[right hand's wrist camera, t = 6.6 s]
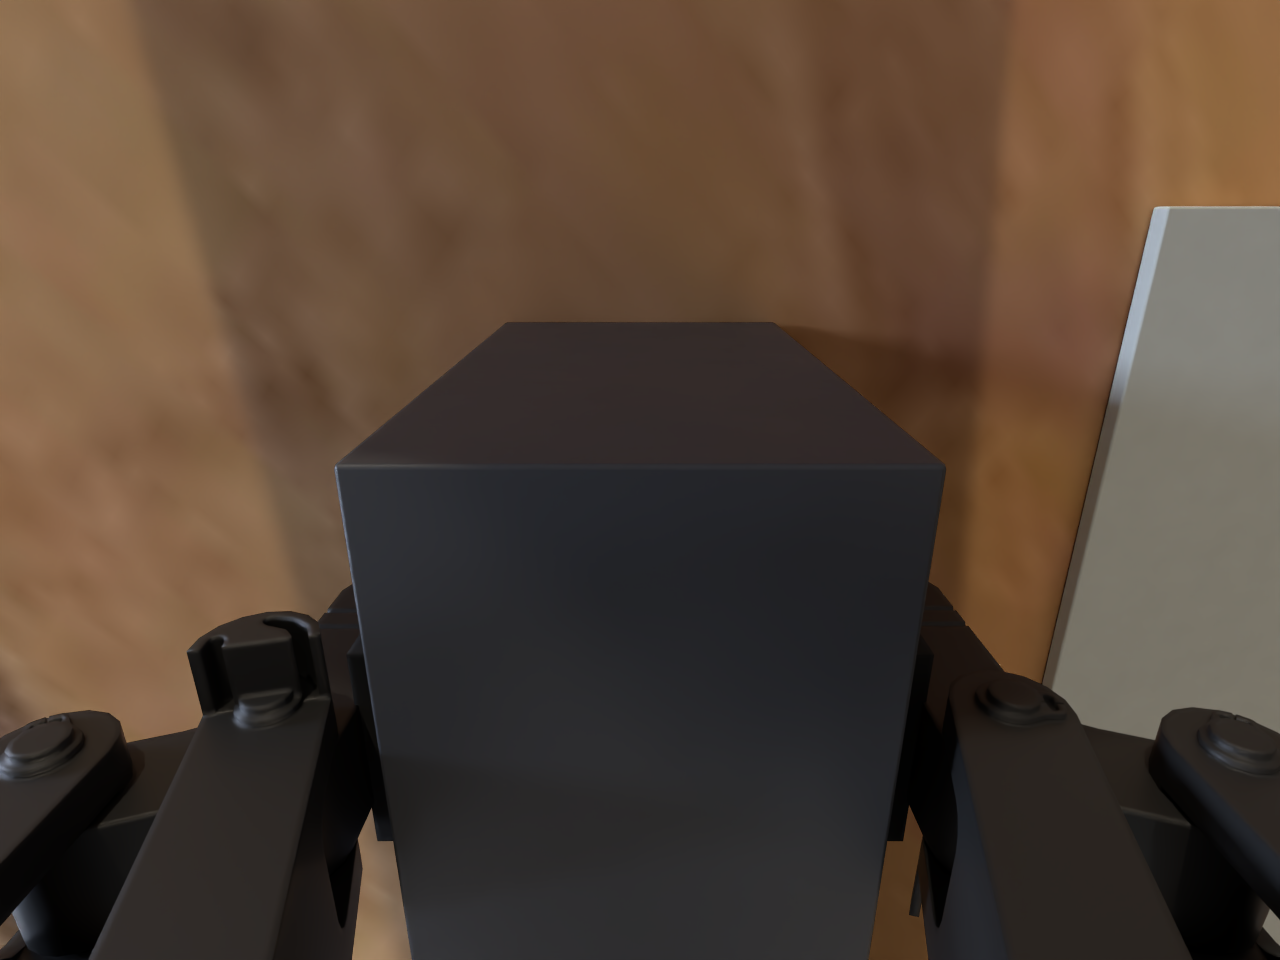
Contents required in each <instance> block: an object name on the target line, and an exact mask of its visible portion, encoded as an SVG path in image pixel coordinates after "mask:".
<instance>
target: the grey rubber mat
mask: <svg viewBox="0 0 1280 960" xmlns="http://www.w3.org/2000/svg"><path fill="white" fill-rule="evenodd" d="M1042 685H1044V686H1047V687H1048V688H1049V689H1051V690H1052V691H1054V692H1055V693H1057V694H1058V695H1059V696H1061V697H1062V698H1064V699H1065V700H1066V701H1067V702H1068V704H1069V705H1070V706H1071V708H1072V709H1073V710H1074V711H1075V713H1076V714H1077V716H1078V718H1079V720H1080V722H1081V724H1083V725H1087V726H1091V727H1094V728H1098V729H1103V730H1108V731H1113V732H1118V733H1123V734H1128V735H1133V736H1138V737H1143V738H1148V739H1152V740H1155V738H1156V735H1157V732H1158V728H1159V725H1160V722H1161V719H1162V717H1164V716H1165V715H1166V714H1168V713H1169V712H1170V711H1172V710H1174V709H1182V708H1189V707H1196V708H1205V709H1213V710H1221V711H1226V712H1230V713H1232V714H1233V715H1236V714H1237V715H1240V716H1243V717H1246V718H1249V719H1252V720H1254V721H1255V722H1256V723H1258V724H1260V725H1263V726H1265V727H1267V728H1269V729H1271V730H1274V731H1276V732H1278V733H1279V734H1280V206H1158V207H1155V208H1154V210H1153V214H1152V218H1151V223H1150V227H1149V231H1148V235H1147V240H1146V244H1145V248H1144V252H1143V257H1142V261H1141V265H1140V270H1139V274H1138V278H1137V282H1136V287H1135V291H1134V295H1133V299H1132V304H1131V308H1130V312H1129V316H1128V321H1127V325H1126V329H1125V333H1124V338H1123V342H1122V346H1121V350H1120V355H1119V359H1118V363H1117V368H1116V372H1115V376H1114V380H1113V385H1112V389H1111V393H1110V397H1109V402H1108V406H1107V410H1106V414H1105V419H1104V423H1103V427H1102V431H1101V436H1100V440H1099V444H1098V449H1097V453H1096V457H1095V461H1094V466H1093V470H1092V474H1091V478H1090V483H1089V487H1088V491H1087V495H1086V500H1085V504H1084V508H1083V512H1082V517H1081V521H1080V525H1079V530H1078V534H1077V538H1076V542H1075V547H1074V551H1073V555H1072V559H1071V564H1070V568H1069V572H1068V576H1067V581H1066V585H1065V589H1064V593H1063V598H1062V602H1061V606H1060V610H1059V615H1058V619H1057V623H1056V628H1055V632H1054V636H1053V640H1052V645H1051V649H1050V653H1049V657H1048V662H1047V666H1046V670H1045V674H1044V679H1043V683H1042ZM1263 928H1264V929H1265V930H1266V931H1267V932H1268V933H1269V935H1270V936H1271V937H1272V938H1273V939H1274V940H1275V942H1276V943H1277V944H1279V945H1280V920H1279V919H1278V917H1277V916H1276V915H1275V914H1274V913H1273V912H1272V911H1271V910H1269V913H1268V915H1267V917H1266V920H1265V922H1264V925H1263Z"/></svg>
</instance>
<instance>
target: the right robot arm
mask: <svg viewBox="0 0 1280 960" xmlns="http://www.w3.org/2000/svg"><path fill="white" fill-rule="evenodd" d="M187 655H188V659H189V663H190V667H191V670H192V674H193V678H194V682H195V686H196V690H197V694H198V697H199V701H200V705H201V709H202V713H203V717H202V719H201V721H200V723H199V725H198V728H194V729H191V730H187V731H183V732H178V733H173V734H168V735H163V736H159V737H154V738H149V739H144V740H139V741H134V742H129V743H126V740H125V736H124V733H123V730H122V727H121V724H120V721H119V720H117V719H116V718H115V717H114V716H112V715H111V714H110V713H106V712H98V711H91V710H87V711H78V712H70V713H62V714H57V715H53V716H49V718H46V717H45V718H42V719H39V720H36V721H33V722H31V723H29V724H27V725H26V726H24V727H22V728H20V729H18V730H15V731H13V732H11V733H9V734H7V735H5V736H3V737H1V738H0V926H1V925H2V923H3V922H4V921H5V920H6V919H7V918H8V917H9V916H10V914H11V913H12V914H13V916H14V918H15V921H16V923H17V926H18V928H19V930H18V931H17V932H16V934H15V935H14V936H13V937H12V938H11V939H10V941H9V942H8V943H7V944H6V945H5V946H4V947H3V948H2V949H0V960H352V953H353V945H354V936H355V928H356V920H357V911H358V903H359V894H360V886H361V877H362V869H363V868H362V861H361V854H360V849H359V843H358V837H359V834H360V832H361V830H362V828H363V825H364V823H365V821H366V819H367V817H368V814H369V812H370V810H371V808H372V811H373V817H374V823H375V829H376V835H377V841H393V836H392V830H391V824H390V817H389V811H388V805H387V798H386V792H385V786H384V779H383V773H382V767H381V761H380V754H379V748H378V742H377V735H376V729H375V723H374V716H373V710H372V704H371V697H370V691H369V685H368V678H367V672H366V666H365V660H364V653H363V647H362V641H361V634H360V628H359V622H358V615H357V609H356V603H355V596H354V590H353V584H352V585H350V586H349V587H347V588H346V589H344V590H342V592H341V593H340V594H339V596H338V597H337V598H336V599H335V601H334V602H333V603H332V604H331V606H330V607H329V608H328V613H324V615H323V616H322V617H321V618H320V620H319V621H318V622H317V621H315V620H314V619H313V618H311V617H310V616H309V615H306V614H301V613H296V612H292V611H283V612H265V613H260V614H256V615H251V616H246V617H242V618H239V619H237V620H234V621H231V622H229V623H226V624H223V625H221V626H218V627H217V628H215V629H213V630H212V631H210V632H208V633H207V634H205V635H203V636H202V637H200V638H199V639H198V640H197V641H196V642H195V643H194V644H193V645H192V646H191V647H190V648H189V650H188V651H187ZM909 805H910V808H911V810H912V812H913V814H914V816H915V819H916V821H917V823H918V825H919V827H920V830H921V832H922V834H923V838H922V843H921V849H920V854H919V860H918V865H917V871H916V876H915V882H914V887H913V893H912V898H911V905H910V912H909V915H912V916H916V917H919V914H920V908H921V903H922V909H923V918H924V926H925V935H926V943H927V952H928V960H1280V945H1279V944H1277V943H1276V942H1275V940H1274V939H1273V938H1272V937H1271V936H1270V935H1269V933H1268V932H1267V931H1266V930H1265V929H1264V928H1263V925H1264V922H1265V920H1266V917H1267V915H1268V913H1269V910H1271V911H1272V912H1273V913H1274V914H1275V915H1276V916H1277V917H1278V919H1279V920H1280V734H1279V733H1278V732H1276V731H1274V730H1271V729H1269V728H1267V727H1265V726H1263V725H1260V724H1258V723H1256V722H1255V721H1254V720H1252V719H1249V718H1246V717H1243V716H1240V715H1237V714H1236V715H1233V714H1232V713H1230V712H1226V711H1221V710H1213V709H1205V708H1196V707H1189V708H1182V709H1174V710H1172V711H1170V712H1169V713H1168V714H1166V715H1165V716H1164V717H1162V719H1161V722H1160V725H1159V728H1158V732H1157V735H1156V738H1155V740H1152V739H1148V738H1143V737H1138V736H1133V735H1128V734H1123V733H1118V732H1113V731H1108V730H1103V729H1098V728H1094V727H1091V726H1087V725H1083V724H1081V722H1080V720H1079V718H1078V716H1077V714H1076V713H1075V711H1074V710H1073V709H1072V708H1071V706H1070V705H1069V704H1068V702H1067V701H1066V700H1065V699H1064V698H1062V697H1061V696H1059V695H1058V694H1057V693H1055V692H1054V691H1052V690H1051V689H1049V688H1048V687H1047V686H1044V685H1042V684H1040V683H1037V682H1035V681H1033V680H1031V679H1028V678H1026V677H1024V676H1020V675H1015V674H1011V673H1007V672H1004V670H1003V669H1002V668H1001V667H1000V665H999V664H998V663H997V662H996V660H995V659H994V658H993V657H992V655H991V654H990V653H989V652H988V650H987V649H986V648H985V646H984V645H983V644H982V643H981V641H980V640H979V639H978V638H977V636H976V635H975V634H974V633H973V631H972V630H971V629H970V628H969V626H965V621H964V620H963V619H962V617H961V616H960V615H959V614H958V612H957V611H956V610H953V606H952V605H951V604H950V602H949V601H948V600H947V598H946V597H945V596H944V595H943V593H942V592H941V591H940V590H939V588H937V587H936V586H934V585H932V584H931V583H929V582H928V587H927V593H926V599H925V606H924V612H923V618H922V624H921V631H920V637H919V643H918V650H917V656H916V662H915V669H914V675H913V681H912V687H911V694H910V700H909V706H908V713H907V719H906V725H905V732H904V738H903V744H902V750H901V757H900V763H899V769H898V776H897V782H896V788H895V795H894V801H893V807H892V813H891V820H890V826H889V832H888V839H887V841H903V837H904V831H905V825H906V819H907V813H908V808H909Z"/></svg>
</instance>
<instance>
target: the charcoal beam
mask: <svg viewBox="0 0 1280 960" xmlns="http://www.w3.org/2000/svg"><path fill="white" fill-rule="evenodd" d="M334 470H335V476H336V483H337V489H338V495H339V502H340V508H341V514H342V521H343V527H344V533H345V540H346V546H347V552H348V558H349V565H350V571H351V577H352V584H353V590H354V596H355V603H356V609H357V615H358V622H359V628H360V634H361V641H362V647H363V653H364V660H365V666H366V672H367V678H368V685H369V691H370V697H371V704H372V710H373V716H374V723H375V729H376V735H377V742H378V748H379V754H380V761H381V767H382V773H383V779H384V786H385V792H386V798H387V805H388V811H389V817H390V824H391V830H392V836H393V843H394V849H395V855H396V862H397V868H398V874H399V881H400V887H401V893H402V899H403V906H404V912H405V918H406V925H407V931H408V937H409V944H410V950H411V956H412V960H868V958H869V952H870V946H871V940H872V933H873V927H874V921H875V914H876V908H877V902H878V895H879V889H880V883H881V877H882V870H883V864H884V858H885V851H886V845H887V839H888V832H889V826H890V820H891V813H892V807H893V801H894V795H895V788H896V782H897V776H898V769H899V763H900V757H901V750H902V744H903V738H904V732H905V725H906V719H907V713H908V706H909V700H910V694H911V687H912V681H913V675H914V669H915V662H916V656H917V650H918V643H919V637H920V631H921V624H922V618H923V612H924V606H925V599H926V593H927V587H928V580H929V574H930V568H931V561H932V555H933V549H934V543H935V536H936V530H937V524H938V517H939V511H940V505H941V498H942V492H943V486H944V480H945V473H946V467H945V464H944V463H943V462H941V461H940V460H939V459H938V458H936V457H935V456H934V455H933V454H932V453H930V452H929V451H928V450H927V449H926V448H924V447H923V446H922V445H921V444H920V443H918V442H917V441H916V440H915V439H914V438H912V437H911V436H910V435H909V434H908V433H906V432H905V431H904V430H903V429H902V428H900V427H899V426H898V425H897V424H895V423H894V422H893V421H892V420H891V419H889V418H888V417H887V416H886V415H885V414H883V413H882V412H881V411H880V410H879V409H877V408H876V407H875V406H874V405H873V404H871V403H870V402H869V401H868V400H867V399H865V398H864V397H863V396H862V395H861V394H859V393H858V392H857V391H856V390H854V389H853V388H852V387H851V386H850V385H848V384H847V383H846V382H845V381H844V380H842V379H841V378H840V377H839V376H838V375H836V374H835V373H834V372H833V371H832V370H830V369H829V368H828V367H827V366H826V365H824V364H823V363H822V362H821V361H819V360H818V359H817V358H816V357H815V356H813V355H812V354H811V353H810V352H809V351H807V350H806V349H805V348H804V347H803V346H801V345H800V344H799V343H798V342H797V341H795V340H794V339H793V338H792V337H791V336H789V335H788V334H787V333H786V332H785V331H783V330H782V329H781V328H780V327H778V326H777V325H776V324H775V323H773V322H507V323H505V324H504V325H503V326H502V327H500V328H499V329H498V330H497V331H496V332H494V333H493V334H492V335H491V336H490V337H488V338H487V339H486V340H485V341H484V342H482V343H481V344H480V345H479V346H478V347H476V348H475V349H474V350H473V351H472V352H470V353H469V354H468V355H467V356H465V357H464V358H463V359H462V360H461V361H459V362H458V363H457V364H456V365H455V366H453V367H452V368H451V369H450V370H449V371H447V372H446V373H445V374H444V375H443V376H441V377H440V378H439V379H438V380H437V381H435V382H434V383H433V384H432V385H431V386H429V387H428V388H427V389H426V390H425V391H423V392H422V393H421V394H420V395H419V396H417V397H416V398H415V399H414V400H413V401H411V402H410V403H409V404H408V405H407V406H405V407H404V408H403V409H402V410H401V411H399V412H398V413H397V414H396V415H395V416H393V417H392V418H391V419H390V420H389V421H387V422H386V423H385V424H384V425H382V426H381V427H380V428H379V429H378V430H376V431H375V432H374V433H373V434H372V435H370V436H369V437H368V438H367V439H366V440H364V441H363V442H362V443H361V444H360V445H358V446H357V447H356V448H355V449H354V450H352V451H351V452H350V453H349V454H348V455H346V456H345V457H344V458H343V459H342V460H340V461H339V462H338V463H337V464H336V465H335V468H334Z"/></svg>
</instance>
